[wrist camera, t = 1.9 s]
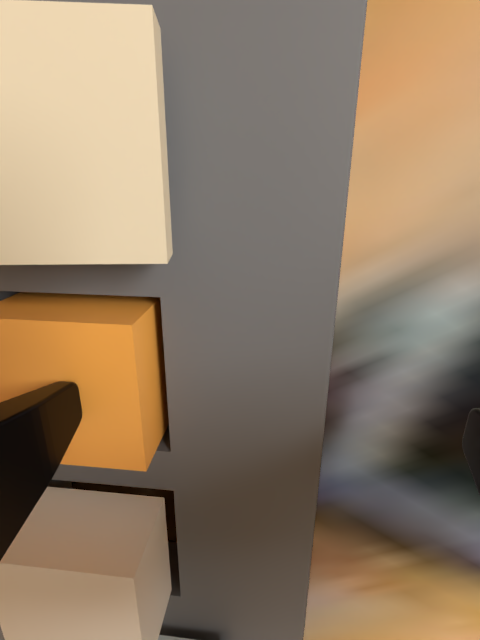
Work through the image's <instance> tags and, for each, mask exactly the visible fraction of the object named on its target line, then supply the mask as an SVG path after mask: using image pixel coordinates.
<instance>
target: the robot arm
mask: <svg viewBox="0 0 480 640" xmlns="http://www.w3.org/2000/svg"><path fill="white" fill-rule="evenodd" d="M81 419H82V406H81V400H80V394H79V388H78V386H77V384H76V383H75V382H66V381H58V382H55V383H52V384H49V385H47V386H44V387H41V388H38V389H36V390H33V391H30V392H27V393H25V394H22V395H19V396H16V397H14V398H11V399H8V400H6V401H3V402H0V561H1V559H2V558H3V556H4V555H5V553H6V551H7V550H8V548H9V547H10V545H11V544H12V542H13V540H14V539H15V537H16V536H17V534H18V532H19V531H20V529H21V528H22V526H23V524H24V523H25V521H26V520H27V518H28V517H29V515H30V513H31V512H32V510H33V509H34V507H35V505H36V504H37V502H38V501H39V499H40V498H41V496H42V494H43V493H44V491H45V490H46V488H47V486H48V485H49V483H50V481H51V480H52V478H53V476H54V474H55V473H56V471H57V469H58V467H59V465H60V463H61V461H62V459H63V457H64V455H65V453H66V451H67V449H68V447H69V445H70V443H71V441H72V439H73V437H74V435H75V433H76V431H77V429H78V427H79V425H80V422H81ZM462 447H463V452H464V454H465V457H466V460H467V462H468V465H469V468H470V471H471V473H472V476H473V479H474V481H475V484H476V487H477V489H478V492H479V495H480V408H473V409H472V410H471V411H470V412H469V415H468V419H467V423H466V427H465V431H464V435H463V439H462Z"/></svg>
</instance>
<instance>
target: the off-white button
mask: <svg viewBox="0 0 480 640" xmlns="http://www.w3.org/2000/svg"><path fill="white" fill-rule="evenodd" d="M171 590H172V587H171V575H170V562H169V550H168V537H167V525H166V512H165V500H164V497H154V496H143V495H132V494H122V493H111V492H100V491H89V490H79V489H68V488H57V487H47V488H46V490H45V491H44V493H43V494H42V496H41V498H40V499H39V501H38V502H37V504H36V505H35V507H34V509H33V510H32V512H31V513H30V515H29V517H28V518H27V520H26V521H25V523H24V524H23V526H22V528H21V529H20V531H19V532H18V534H17V536H16V537H15V539H14V540H13V542H12V544H11V545H10V547H9V548H8V550H7V551H6V553H5V555H4V556H3V558H2V559H1V561H0V626H1V629H2V632H3V636H4V639H5V640H158V637H159V634H160V630H161V626H162V623H163V619H164V616H165V612H166V608H167V605H168V601H169V597H170V594H171Z"/></svg>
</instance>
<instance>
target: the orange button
mask: <svg viewBox="0 0 480 640" xmlns="http://www.w3.org/2000/svg"><path fill="white" fill-rule="evenodd" d="M58 381H66V382H75V383H76V384H77V386H78V388H79V394H80V400H81V406H82V419H81V422H80V425H79V427H78V429H77V431H76V433H75V435H74V437H73V439H72V441H71V443H70V445H69V447H68V449H67V451H66V453H65V455H64V457H63V459H62V461H61V463H60V464H65V465H77V466H88V467H100V468H111V469H123V470H134V471H147V469H148V467H149V465H150V463H151V461H152V458H153V456H154V454H155V452H156V450H157V448H158V446H159V444H160V441H161V439H162V437H163V435H164V433H165V431H166V429H167V427H168V425H169V417H168V402H167V388H166V373H165V358H164V344H163V329H162V315H161V300H160V297H140V296H115V295H90V294H65V293H40V292H20V293H18V294H15V295H13V296H11V297H8V298H6V299H4V300H1V301H0V402H3V401H6V400H8V399H11V398H14V397H16V396H19V395H22V394H25V393H27V392H30V391H33V390H36V389H38V388H41V387H44V386H47V385H49V384H52V383H55V382H58Z"/></svg>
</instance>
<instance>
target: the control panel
mask: <svg viewBox="0 0 480 640" xmlns="http://www.w3.org/2000/svg"><path fill="white" fill-rule="evenodd" d="M29 1H58V2H86V3H114V4H142V5H152V6H153V9H154V12H155V14H156V17H157V20H158V23H159V26H160V28H161V46H162V65H163V83H164V102H165V120H166V138H167V157H168V175H169V194H170V212H171V231H172V249H173V254H172V256H171V258H170V260H169V262H168V264H60V265H0V301H1V300H4V299H6V298H8V297H11V296H13V295H15V294H18V293H20V292H40V293H65V294H90V295H115V296H140V297H160V300H161V315H162V329H163V344H164V358H165V373H166V388H167V402H168V417H169V425H168V427H167V429H166V431H165V433H164V435H163V437H162V439H161V441H160V444H159V446H158V448H157V450H156V452H155V454H154V456H153V458H152V461H151V463H150V465H149V467H148V469H147V471H134V470H123V469H111V468H100V467H88V466H77V465H65V464H60V465H59V467H58V469H57V471H56V473H55V474H54V476H53V478H52V480H51V481H50V483H49V485H48V486H47V487H57V488H68V489H73V487H72V482H71V481H74V482H85V483H96V484H107V485H118V486H129V487H140V488H151V489H162V490H172V491H174V505H175V519H176V534H177V542H169V541H168V550H169V562H170V575H171V587H172V590H171V594H170V597H169V601H168V605H167V608H166V612H165V616H164V619H163V623H162V626H161V630H160V634H159V635H165V636H172V637H180V638H188V639H195V640H303V637H304V627H305V617H306V607H307V597H308V587H309V577H310V567H311V557H312V547H313V537H314V527H315V517H316V507H317V497H318V487H319V477H320V467H321V457H322V447H323V437H324V427H325V417H326V407H327V397H328V387H329V377H330V367H331V357H332V347H333V337H334V327H335V317H336V307H337V297H338V287H339V277H340V267H341V257H342V247H343V237H344V227H345V217H346V207H347V197H348V187H349V177H350V167H351V157H352V147H353V137H354V127H355V117H356V107H357V97H358V87H359V77H360V67H361V57H362V47H363V37H364V27H365V17H366V7H367V0H29ZM0 640H5V639H4V636H3V632H2V629H1V626H0Z"/></svg>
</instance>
